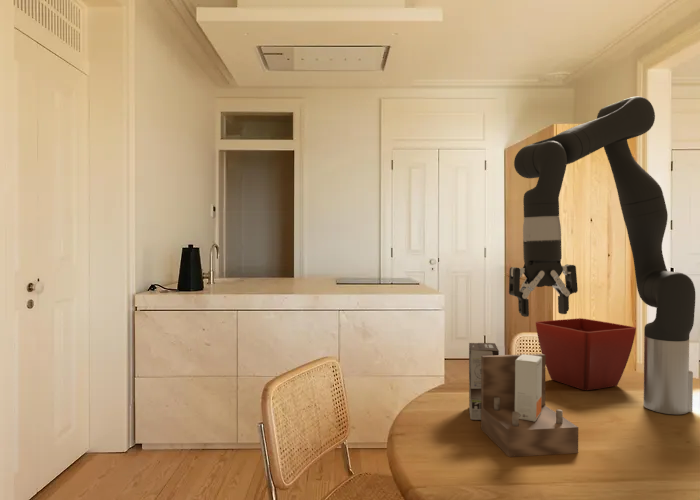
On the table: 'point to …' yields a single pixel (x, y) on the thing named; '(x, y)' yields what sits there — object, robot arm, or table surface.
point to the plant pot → (585, 351)
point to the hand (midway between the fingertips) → (543, 314)
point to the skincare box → (528, 386)
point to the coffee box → (477, 375)
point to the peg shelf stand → (504, 422)
